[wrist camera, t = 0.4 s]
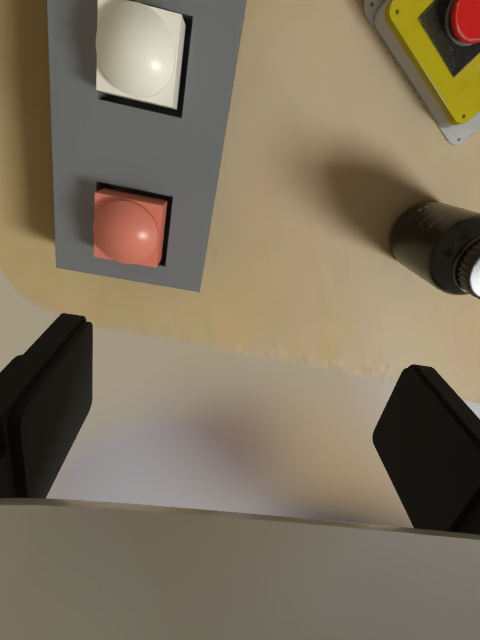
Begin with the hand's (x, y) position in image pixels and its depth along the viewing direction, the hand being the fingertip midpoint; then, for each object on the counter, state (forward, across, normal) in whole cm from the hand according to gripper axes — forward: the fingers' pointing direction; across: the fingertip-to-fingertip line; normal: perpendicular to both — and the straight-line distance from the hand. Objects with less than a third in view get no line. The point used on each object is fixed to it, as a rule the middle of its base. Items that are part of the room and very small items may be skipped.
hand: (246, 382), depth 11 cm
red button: (+23, +8, +2) cm, 25 cm away
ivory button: (+23, +8, -10) cm, 27 cm away
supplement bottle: (+28, -20, -1) cm, 34 cm away
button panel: (+28, +8, -4) cm, 29 cm away
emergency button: (+28, -16, -17) cm, 37 cm away
